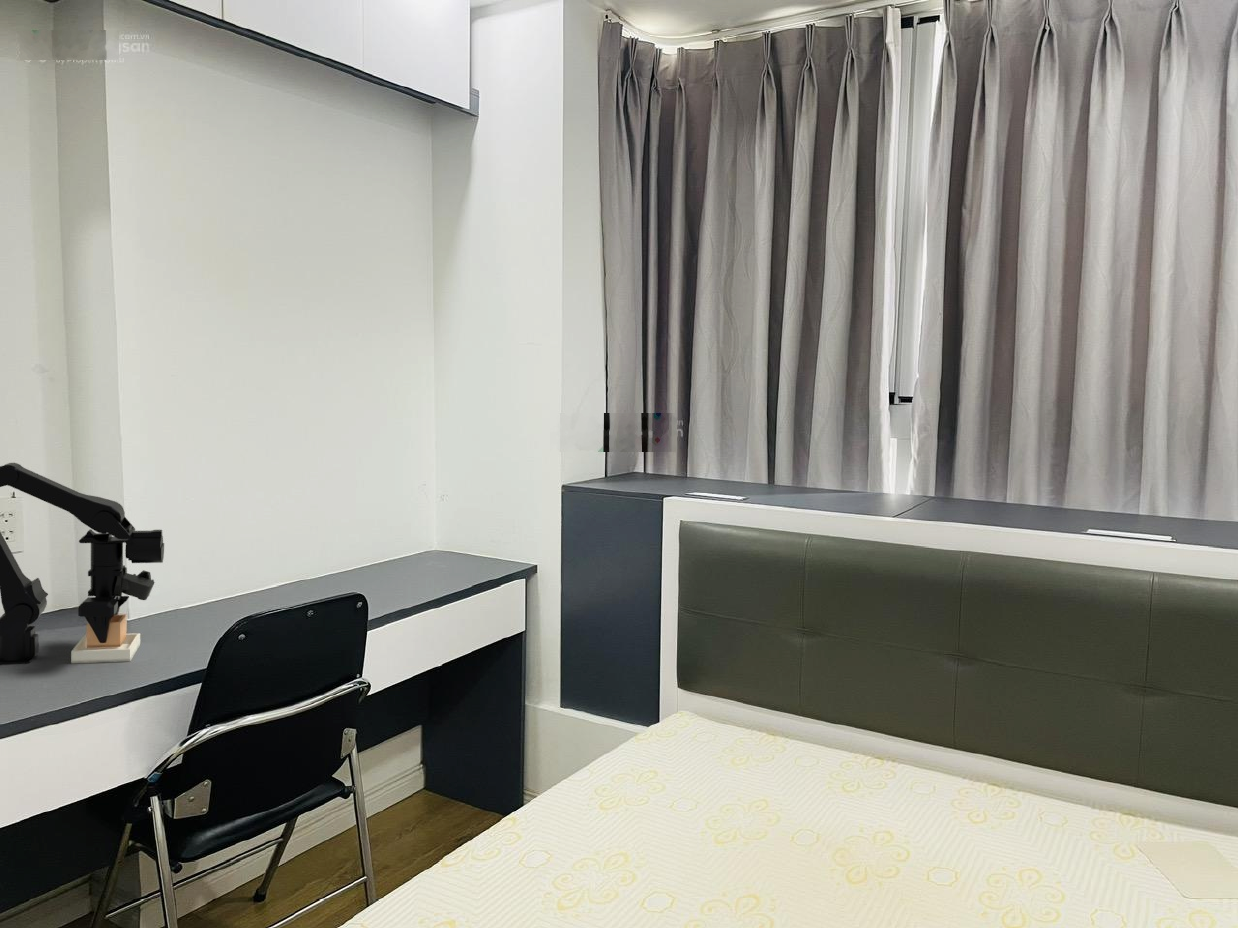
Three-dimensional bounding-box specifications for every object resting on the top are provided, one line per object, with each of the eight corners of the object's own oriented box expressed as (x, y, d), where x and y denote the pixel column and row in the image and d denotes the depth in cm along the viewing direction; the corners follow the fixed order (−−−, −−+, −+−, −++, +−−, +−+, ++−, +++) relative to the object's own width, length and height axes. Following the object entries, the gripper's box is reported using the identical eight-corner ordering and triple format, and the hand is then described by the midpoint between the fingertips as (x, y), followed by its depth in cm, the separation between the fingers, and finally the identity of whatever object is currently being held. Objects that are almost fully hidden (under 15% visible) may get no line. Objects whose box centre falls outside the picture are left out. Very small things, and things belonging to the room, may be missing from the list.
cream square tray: (71, 663, 178) (71, 651, 178) (84, 646, 188) (84, 634, 188) (130, 661, 181) (130, 649, 181) (140, 644, 191) (140, 633, 191)
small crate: (86, 647, 180) (86, 623, 180) (94, 638, 186) (94, 614, 186) (120, 646, 182) (120, 622, 182) (126, 637, 188) (126, 614, 187)
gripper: (142, 574, 176) (141, 651, 178) (158, 553, 194) (158, 623, 195) (77, 574, 173) (77, 653, 174) (100, 553, 190) (100, 624, 192)
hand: (106, 637), depth 184 cm, fingers closed on small crate, 6 cm apart
